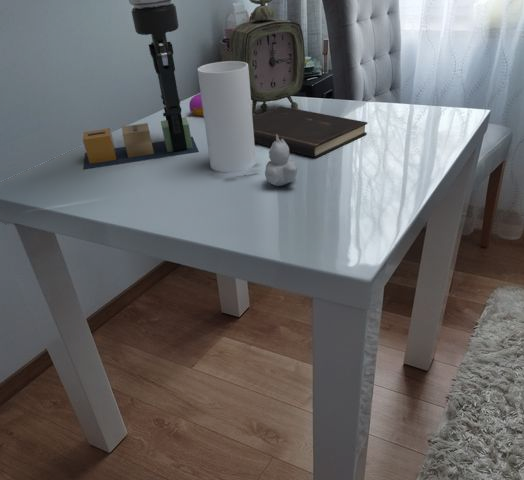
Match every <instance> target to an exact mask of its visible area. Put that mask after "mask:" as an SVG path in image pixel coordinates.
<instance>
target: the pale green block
mask: <svg viewBox="0 0 524 480" xmlns="http://www.w3.org/2000/svg"><path fill="white" fill-rule="evenodd" d="M182 122H183V128H184V133H185V139H186V145H187V149H191V148H193V147H192V141H191V137H192V134H191V128H190V124H189V121H188V119H187V117H182ZM160 125H161V130H162V135H163V141H165V145H166V149H167V152H172V151H173V147H172V142H171V137H170V131H169V126H168V121H167V120H166V119H164V120H160Z"/></svg>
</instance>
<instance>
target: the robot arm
mask: <svg viewBox="0 0 524 480" xmlns="http://www.w3.org/2000/svg"><path fill="white" fill-rule="evenodd" d="M128 3H129V4H130V5H132V6H133V8H132V9H131V16H132V17H131V18H132V21H133V25H134V30H135V32H136V34H138V35H141V36H148V35H151V41H152V42H151V43H149V44H148V48H149V49H148V50H149V53H150V56H151V58H152V65H153V67H154V70H155V73H156V75H157V78H158V84H159V88H160V94H161V95H160V98H161V100H162V104H163V110H164V112H162V116H163V118H164V117H165V120H167V121H168V126H169V131H170V137H171V142H172V147H173V151H178V150H184V149H187V145H186V139H185V133H184V128H183V122H182V118H183V116H182V111H183V110H182V107H181V100H180V98H179V92H178V88H177V87H178V86H177V80H176V74H175V71H176V66H175V61H174V48H173V44H172V42H171V41H168V39H167V33H173V32H174V31H177V30H178V29H179V27H180V26H179V19H178V12H177V7H176V5H175V4H174V3H172V0H128Z"/></svg>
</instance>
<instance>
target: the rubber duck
mask: <svg viewBox="0 0 524 480" xmlns="http://www.w3.org/2000/svg"><path fill="white" fill-rule="evenodd" d="M268 158H269V160H270V161H268V162H267V163H266V166H265V170H264V175H265V179H266V181H267V182H268V183H269V184H271V185H273V186H276V187H280V186H281V187H282V186H285V185H288V184H289V183H294V182H295V181H297V173H298V165H297V163H296V161H294V160H291V159H290V151H289V147H288V145H287V144H286V143H285V141H284V140H283V139H281V140H279V138H278V135H277V134H276V141H274V143H272V147H270V148H269V151H268Z"/></svg>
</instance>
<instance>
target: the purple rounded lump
mask: <svg viewBox="0 0 524 480" xmlns="http://www.w3.org/2000/svg"><path fill="white" fill-rule="evenodd" d="M189 111H190V112H191V113H192V114H193V115H194V116H197V117H204V114H203V107H202V100H201V92H200V93H197V94H196V95H194V96H192V97H191V99H190V101H189Z"/></svg>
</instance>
